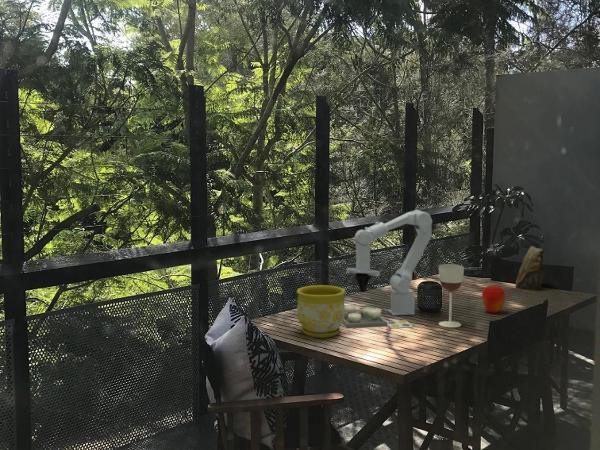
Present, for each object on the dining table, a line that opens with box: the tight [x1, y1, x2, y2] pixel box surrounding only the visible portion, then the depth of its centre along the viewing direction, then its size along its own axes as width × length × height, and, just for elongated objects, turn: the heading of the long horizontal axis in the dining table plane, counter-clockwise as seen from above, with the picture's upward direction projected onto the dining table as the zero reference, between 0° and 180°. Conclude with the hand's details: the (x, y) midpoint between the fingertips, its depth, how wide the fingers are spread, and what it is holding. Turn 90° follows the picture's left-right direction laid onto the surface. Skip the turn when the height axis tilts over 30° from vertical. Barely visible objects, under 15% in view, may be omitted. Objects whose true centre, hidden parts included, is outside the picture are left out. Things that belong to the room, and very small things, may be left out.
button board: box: [342, 311, 388, 329], centre depth 254 cm, size 16×16×2 cm
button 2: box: [348, 312, 361, 322], centre depth 249 cm, size 5×5×4 cm
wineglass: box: [438, 263, 465, 328], centre depth 248 cm, size 9×10×23 cm
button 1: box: [344, 304, 357, 314], centre depth 257 cm, size 5×5×4 cm
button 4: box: [368, 308, 382, 319], centre depth 250 cm, size 5×5×4 cm
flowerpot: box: [296, 284, 346, 339], centre depth 238 cm, size 18×18×16 cm
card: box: [385, 320, 414, 329], centre depth 249 cm, size 9×9×1 cm
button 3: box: [362, 306, 376, 315], centre depth 258 cm, size 5×5×4 cm
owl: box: [515, 245, 545, 292], centre depth 311 cm, size 13×13×20 cm
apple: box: [481, 285, 506, 314], centre depth 267 cm, size 9×9×12 cm
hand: (363, 291), depth 264 cm, fingers closed
